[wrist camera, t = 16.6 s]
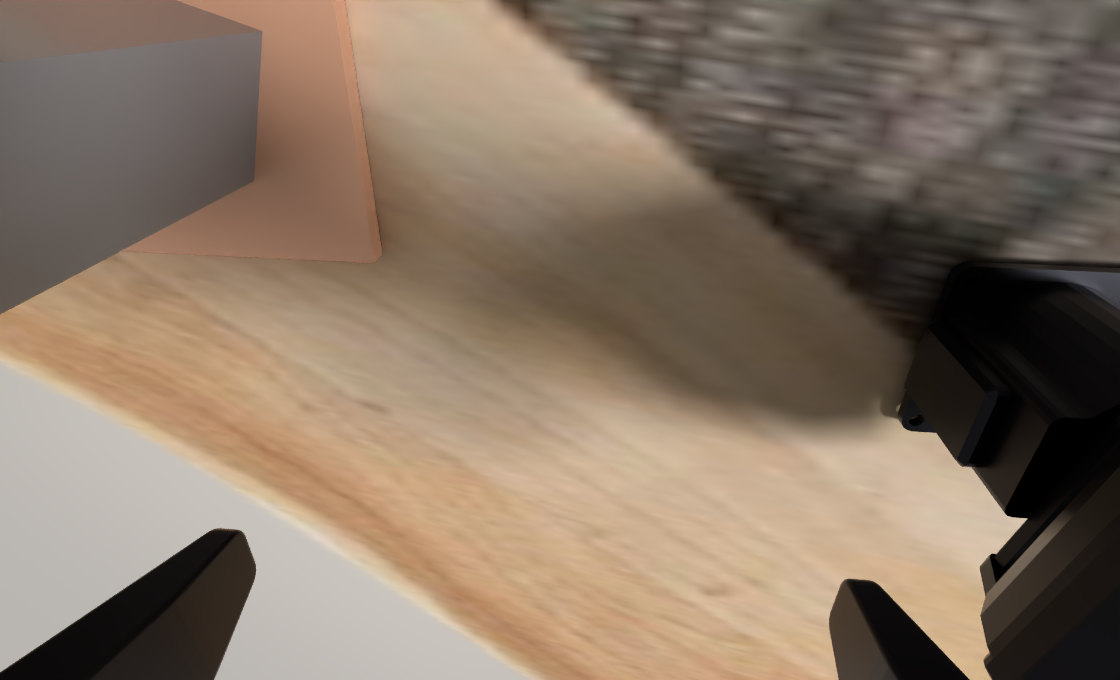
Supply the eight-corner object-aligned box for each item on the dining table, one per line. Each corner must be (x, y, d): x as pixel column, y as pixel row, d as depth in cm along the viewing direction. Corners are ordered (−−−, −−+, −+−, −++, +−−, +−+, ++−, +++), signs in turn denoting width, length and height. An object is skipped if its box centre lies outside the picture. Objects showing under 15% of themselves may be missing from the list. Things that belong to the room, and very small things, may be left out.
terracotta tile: (323, -148, 15) (309, -154, 15) (382, 254, 21) (374, 263, 20) (-38, -147, 16) (-67, -153, 15) (112, 241, 22) (95, 250, 21)
